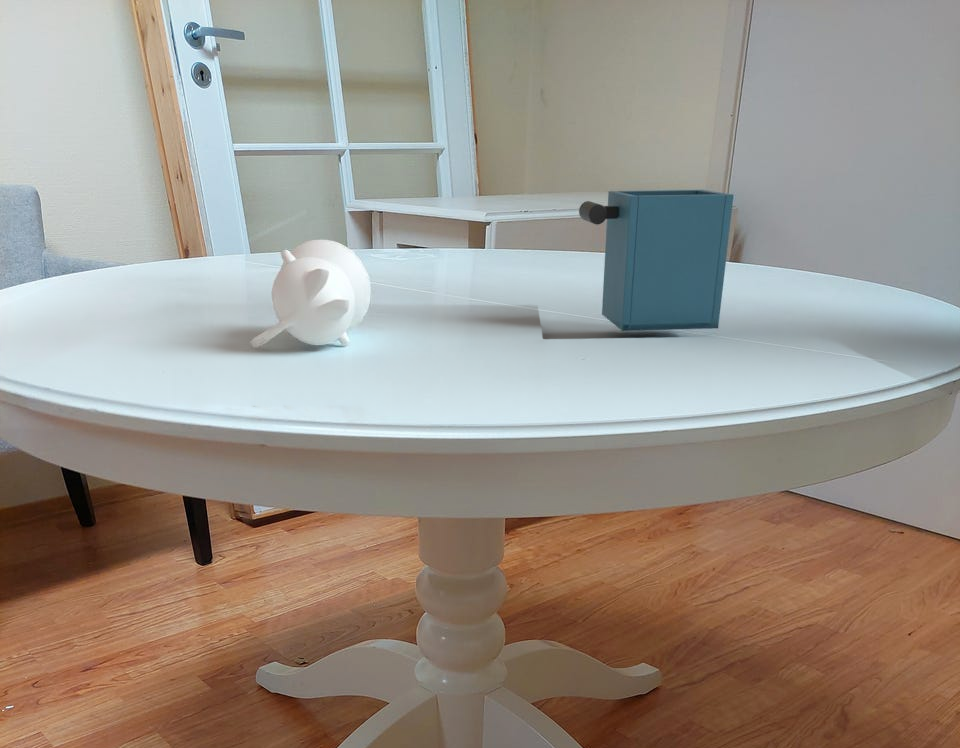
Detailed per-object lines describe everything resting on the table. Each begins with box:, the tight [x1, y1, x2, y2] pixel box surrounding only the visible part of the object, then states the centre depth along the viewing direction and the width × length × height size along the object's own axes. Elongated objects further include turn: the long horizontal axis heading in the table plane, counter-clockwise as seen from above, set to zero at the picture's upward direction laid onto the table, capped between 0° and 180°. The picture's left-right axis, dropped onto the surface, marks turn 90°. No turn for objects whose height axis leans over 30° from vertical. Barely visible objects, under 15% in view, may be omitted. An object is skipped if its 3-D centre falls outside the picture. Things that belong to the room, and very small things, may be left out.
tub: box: [578, 189, 734, 332], centre depth 82 cm, size 12×9×11 cm
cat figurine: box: [250, 238, 372, 349], centre depth 75 cm, size 9×11×12 cm
